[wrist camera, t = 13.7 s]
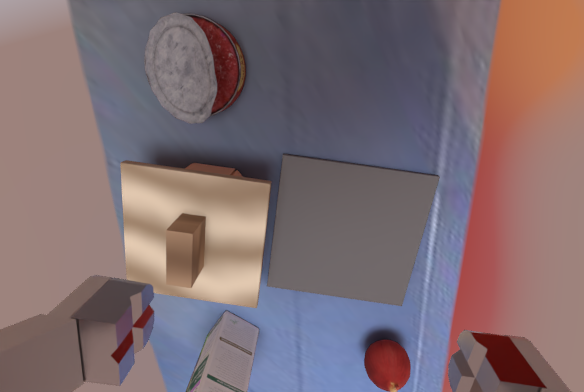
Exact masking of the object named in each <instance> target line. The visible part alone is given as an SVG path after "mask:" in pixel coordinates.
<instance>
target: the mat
mask: <svg viewBox="0 0 584 392" xmlns="http://www.w3.org/2000/svg"><path fill="white" fill-rule="evenodd" d="M439 178H440V177H439V176H438V175H431V174H424V173H417V172H410V171H403V170H396V169H389V168H381V167H374V166H367V165H360V164H353V163H346V162H339V161H331V160H324V159H317V158H310V157H303V156H296V155H289V154H283V158H282V167H281V175H280V183H279V192H278V200H277V208H276V217H275V225H274V233H273V242H272V250H271V258H270V267H269V275H268V283H267V286H269V287H275V288H282V289H289V290H296V291H303V292H309V293H316V294H323V295H330V296H337V297H343V298H350V299H357V300H364V301H371V302H377V303H384V304H391V305H398V306H402V304H403V300H404V297H405V293H406V290H407V287H408V283H409V280H410V276H411V273H412V270H413V266H414V263H415V259H416V256H417V253H418V249H419V246H420V242H421V239H422V236H423V232H424V229H425V225H426V222H427V219H428V215H429V212H430V208H431V205H432V202H433V198H434V195H435V191H436V188H437V185H438V181H439Z"/></svg>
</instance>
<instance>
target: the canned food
mask: <svg viewBox="0 0 584 392" xmlns="http://www.w3.org/2000/svg"><path fill="white" fill-rule="evenodd" d="M144 63H145V72H146V75H147V79H148V82H149V84H150V86H151V89H152V91H153V92H154V94H155V95H156V97H157V98H158V100H159V101H160V103H161V105H162V107H164V108H165V109H166V110H168V111H169V112H170V113H171V114H172V115H173V116H174V117H175V118H177V119H180V120H183V121H185V122H188V123H190V124H192V123H203V122H204V121H205V120H206V119H207V118H208V117H210V116H212V115H215V114H217V113H219V112H221V111H224V110H225V109H227V108H228V107H230V106H231V105H232V104H233V103H234V102H235V101H236V100H237V98H238V96H239V95H240V93H241V91H242V89H243V86H244V82H245V77H246V65H245V60H244V56H243V53H242V50H241V48H240V46H239V44H238V43H237V41H236V39H235V38H234V37H233V36H232V34H231V33H230V32H229V31H228V30H226V29H225V28H224V27H223V26H221V25H219V24H217V23H215V22H214V21H212V20H210V19H208V18H206V17H204V16H200V15H196V14H179V13H176V12H175V13H172V14H170V15H167V16H164V17H161V18H160V19H159V21H158V22H157V24H156V25H155V26H154V27H153V29H152V30H151V31H150V34H149V39H148V42H147V45H146V48H145V59H144Z"/></svg>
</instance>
